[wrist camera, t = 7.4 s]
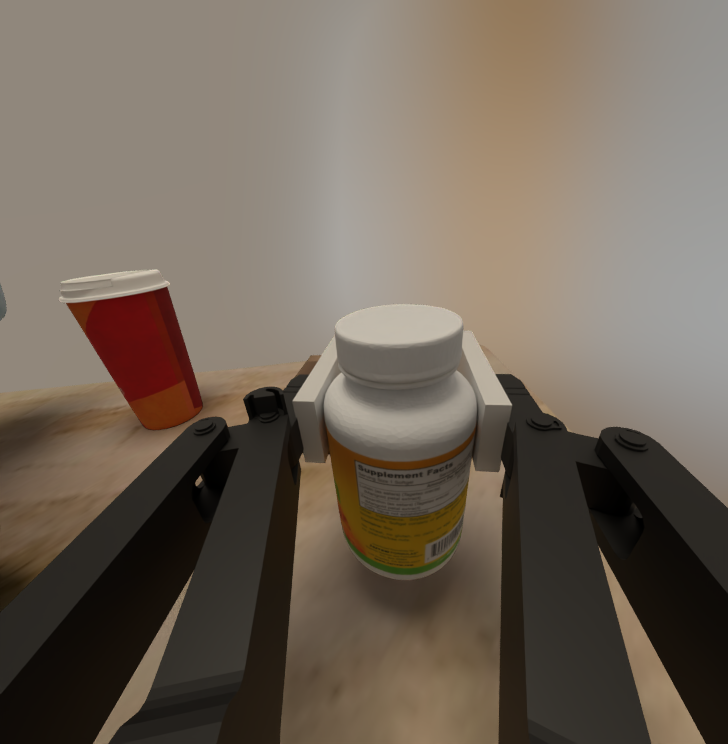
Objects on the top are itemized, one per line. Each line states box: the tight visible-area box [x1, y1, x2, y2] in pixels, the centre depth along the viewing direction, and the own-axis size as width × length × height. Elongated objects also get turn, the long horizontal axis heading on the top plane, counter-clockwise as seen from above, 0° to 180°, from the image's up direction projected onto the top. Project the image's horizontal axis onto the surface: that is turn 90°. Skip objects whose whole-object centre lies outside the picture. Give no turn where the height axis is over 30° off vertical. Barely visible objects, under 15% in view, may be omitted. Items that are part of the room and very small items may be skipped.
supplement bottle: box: [324, 304, 477, 580], centre depth 11 cm, size 5×5×10 cm
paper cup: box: [59, 269, 203, 430], centre depth 27 cm, size 8×8×14 cm
